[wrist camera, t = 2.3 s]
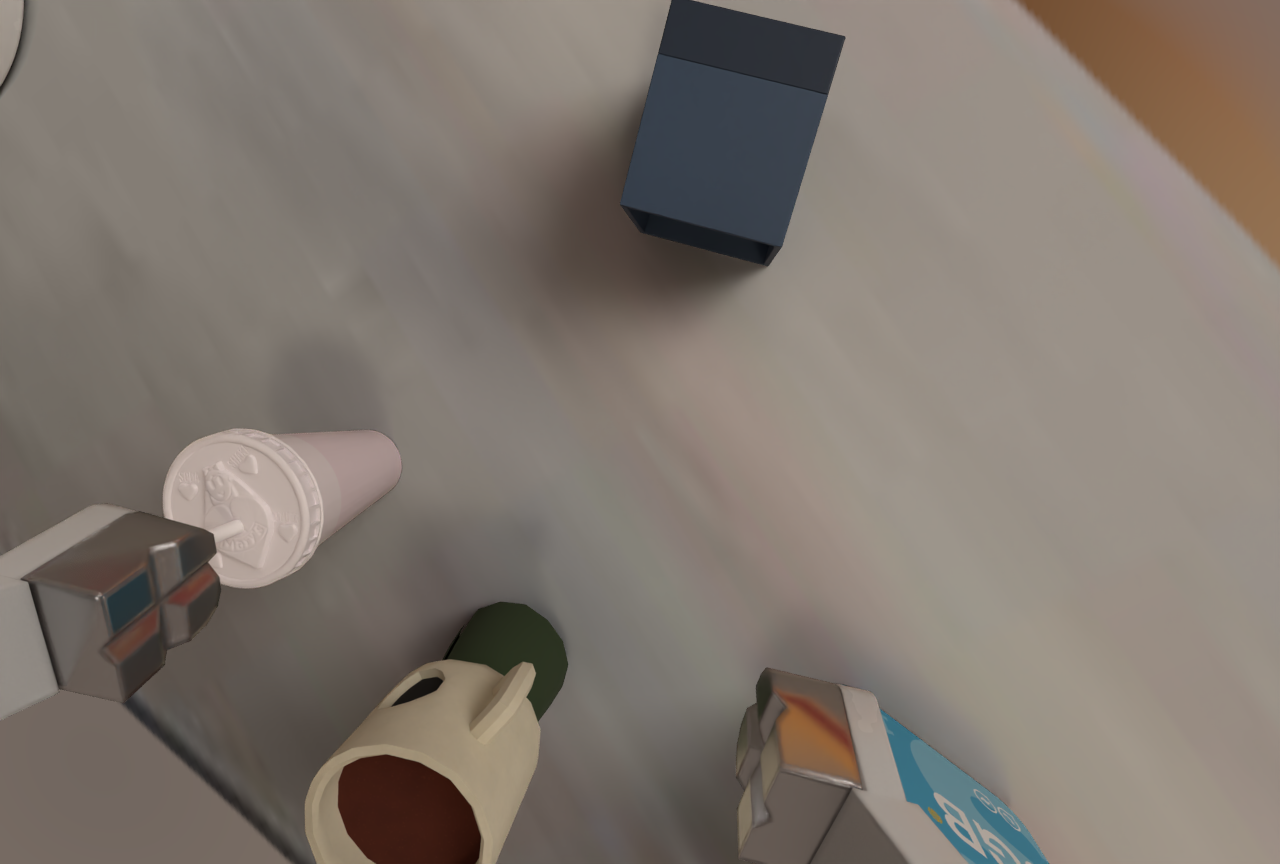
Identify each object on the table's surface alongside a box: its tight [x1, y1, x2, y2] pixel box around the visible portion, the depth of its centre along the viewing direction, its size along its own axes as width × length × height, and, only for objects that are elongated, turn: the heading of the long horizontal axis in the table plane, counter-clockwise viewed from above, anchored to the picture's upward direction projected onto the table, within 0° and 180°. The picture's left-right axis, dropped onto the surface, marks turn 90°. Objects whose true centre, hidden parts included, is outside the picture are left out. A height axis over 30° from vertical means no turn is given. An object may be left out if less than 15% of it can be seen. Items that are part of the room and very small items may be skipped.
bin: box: [620, 0, 845, 266], centre depth 26 cm, size 8×6×6 cm
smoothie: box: [163, 429, 402, 588], centre depth 27 cm, size 6×6×14 cm
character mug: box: [305, 602, 568, 864], centre depth 28 cm, size 11×7×13 cm, turn 138°
